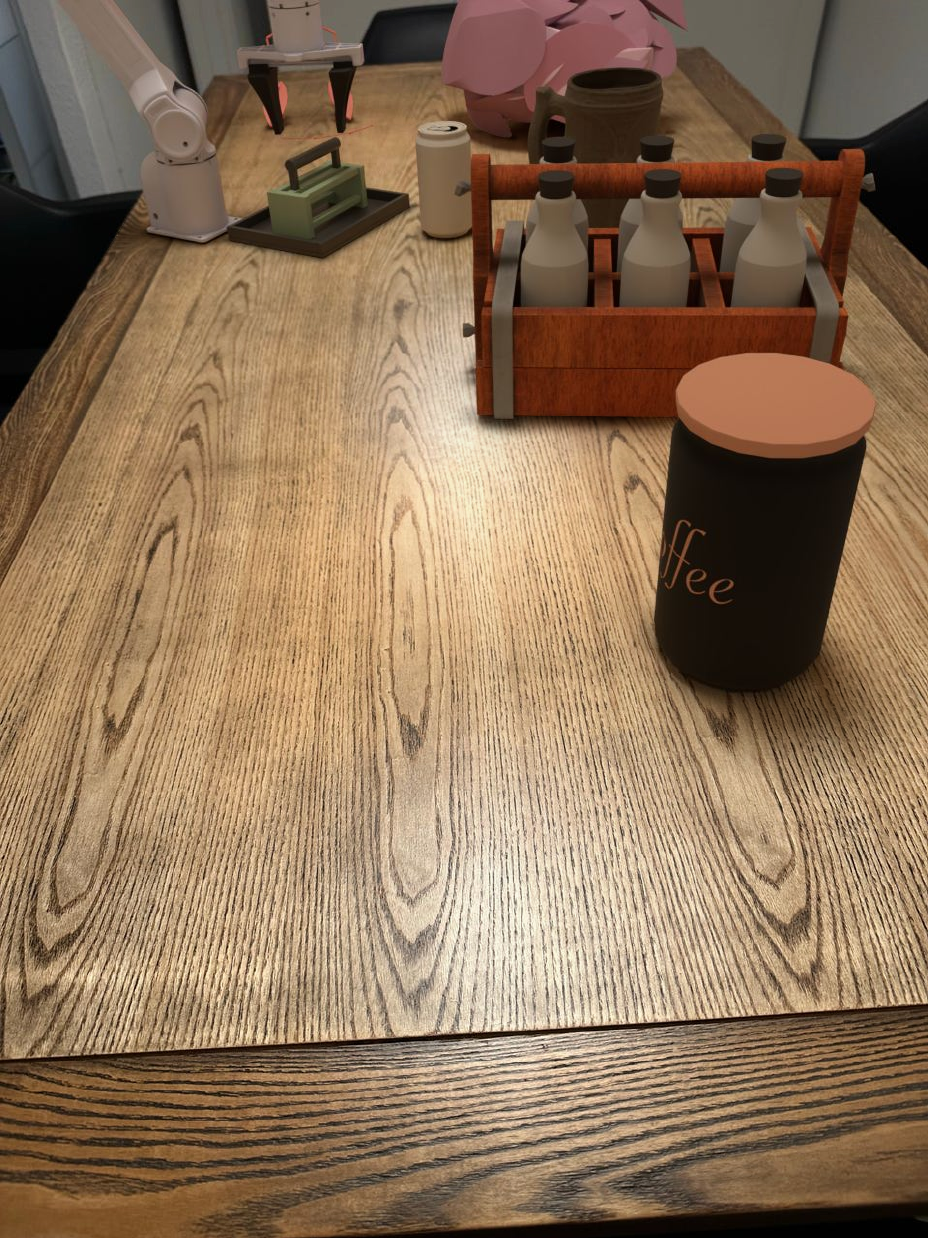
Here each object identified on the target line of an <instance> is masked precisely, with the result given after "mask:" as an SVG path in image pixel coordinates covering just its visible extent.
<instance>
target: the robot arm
mask: <svg viewBox="0 0 928 1238" xmlns="http://www.w3.org/2000/svg"><path fill="white" fill-rule="evenodd" d="M55 1H56V2H57V3H58V5H59V6H60V8H61V9H62V10H63V12H65V13H66V15H67V16H68V18H69V19H70V20H71V22H72V23H73V24H74V25H75V26H76V28H77V29H78V30H79V31H80V33H81V34H82V35H83V36H84V38H85V39H86V40H87V41H88V43H89V45H91V46H92V48H93V49H94V50H95V52H96V53H97V54H98V55H99V57H100V58H101V59H102V60H103V61H104V63H105V64H106V65H107V66H108V68H109V69H110V70H111V72H112V73H113V74H114V76H115V77H116V78H117V79H118V80H119V82H120V83H121V84H122V86H123V87H124V88H125V89H126V90H127V92H128V94H129V96H130V99H131V101H132V103H133V105H134V107H135V110H136V111H137V114H138V115H139V116H140V117H141V118H142V120H143V121H144V123H145V124H146V126H147V129H148V132H149V136H150V139H151V143H152V145H153V146H154V148H155V150H154V151H152V152H149V153H148V154H147V155H146V156H145V158H144V159H143V161H142V163H141V167H140V184H141V189H142V192H143V196H144V202H145V207H146V210H147V215H148V220H149V224H150V226H148V227H146V232H147V233H150V234H155V235H160V236H166V237H170V238H174V239H181V240H186V241H192V242H197V243H201V244H202V243H207V242H208V241H211V240H212V239H214V238H216V237H219V236H220V235H223V234H224V233H226V232H227V226H229V225H231V224H233V223H235V222H237V221H239V220H241V219H243V218H241V217H236V216H231V215H228V211H227V204H226V199H225V194H224V189H223V182H222V177H221V176H222V175H221V171H220V166H219V160H218V155H217V148H216V146H215V145H214V144H213V143H211V142H210V141H209V139H208V137H207V133H206V130H207V128H208V124H209V118H210V117H209V116H210V115H209V109H208V107H207V104H206V102H205V100H204V98H203V97H202V96H201V95H200V94H199V93H198V92H197V91H196V90H194V89H192V88H190V87H188V86H186V85H185V84H183V83H182V82H181V81H180V80H179V79H178V78H177V76H176V74H174V72H173V71H172V70H171V69H170V68H168V67H167V66H166V65H164V64H163V63H162V62H161V61H160V60H159V59H158V57H157V56H156V54H155V53H154V52H153V51H152V49H150V47H149V46H148V45H147V43H146V42H145V40H144V39H143V38H142V36H141V35H140V33H138V31H137V30H136V28H134V26H133V25H132V23H131V22H130V21H129V19H128V17H126V16H125V14H124V12H123V11H122V10H121V9H120V8H119V6H118V5H117V4H116V2H115V1H114V0H55ZM267 4H268V5H267V6H268V13H269V19H270V27H271V34H273V36H272V39H273V40H272V41H273V44H269V45H267V44H266V45H257V46H247V47H246V46H244V47H243V46H242V47H239V49H237V50H236V57H237V62H238V68H239V70H248V73H247V75H246V77H247V81H248V83H249V84H250V86H251V87H252V89H253V90H254V91H255V93H256V95H257V97H258V98H259V99H260V101H261V103H262V106H263V105H264V107H265V109H266V111H267V114H268V116H269V118H270V121H271V123H272V129H273V132H274V135H275V136H280V135H282V134H283V132H284V131H285V123H284V119H283V115H282V110H281V105H280V99H279V88H278V82H279V75H278V74H279V73H278V67H309V66H310V67H311V66H314V67H315V66H332V67H331V68H330V70H329V71H328V78H329V81H330V83H331V87H332V93H333V98H334V105H335V106H334V105H333V106H334V116H335V117H334V118H335V127H336V128H335V129H336V133H337V134H344V133H345V131H346V130H347V118H346V113H347V105H348V99H349V94H350V92H351V89H352V85H353V82H354V78H355V75H356V72H357V69H358V68H357V67H359V66H362V65H363V64H364V63H365V55H364V44H363V43H345V42H337V43H335V42H330V41H329V42H328V41H324V33H323V32H324V31H323V29H322V26H323V24H322V16H321V7H320V0H267ZM271 123H270V124H271Z"/></svg>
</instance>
